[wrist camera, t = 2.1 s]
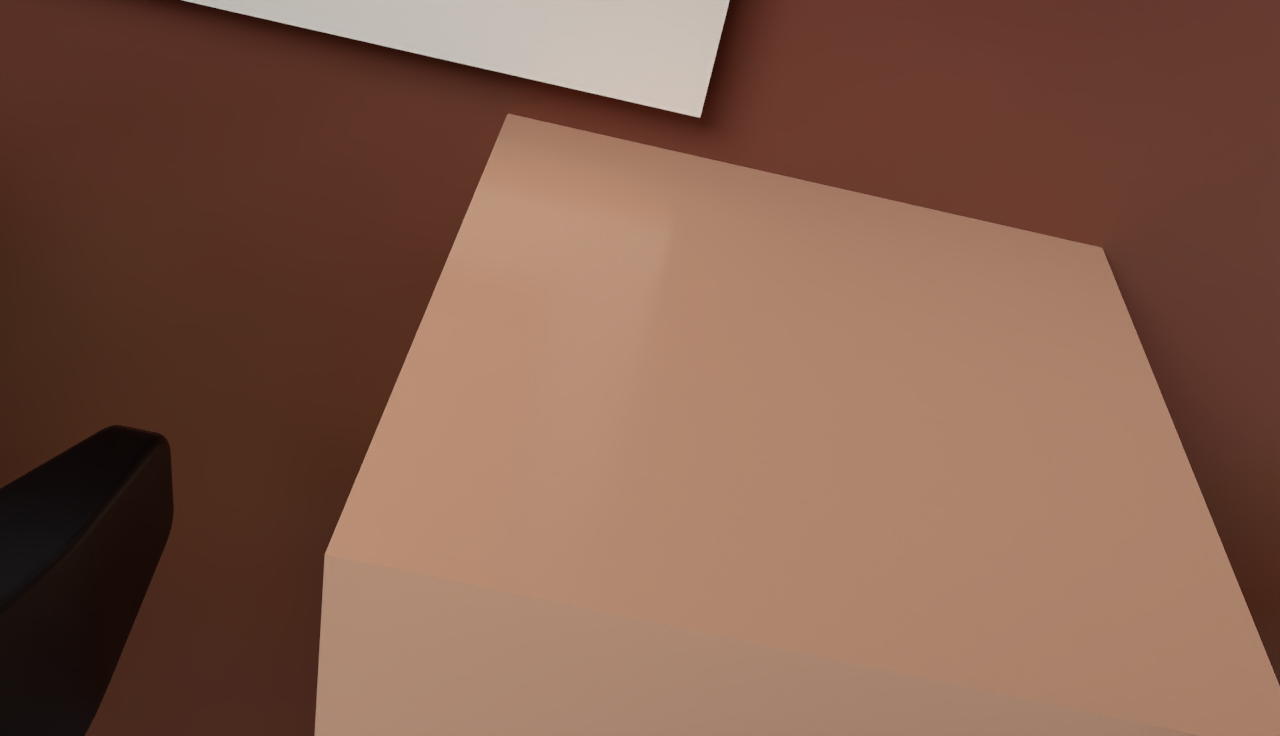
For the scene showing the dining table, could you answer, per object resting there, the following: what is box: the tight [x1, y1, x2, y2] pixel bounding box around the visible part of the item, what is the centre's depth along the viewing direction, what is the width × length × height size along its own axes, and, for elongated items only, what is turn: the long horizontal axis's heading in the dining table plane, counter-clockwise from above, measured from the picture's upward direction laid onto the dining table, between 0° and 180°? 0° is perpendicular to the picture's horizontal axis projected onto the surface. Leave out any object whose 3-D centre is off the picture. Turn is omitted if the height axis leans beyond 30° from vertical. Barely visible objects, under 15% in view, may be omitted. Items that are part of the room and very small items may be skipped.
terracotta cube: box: [315, 114, 1280, 736], centre depth 9 cm, size 5×5×5 cm
